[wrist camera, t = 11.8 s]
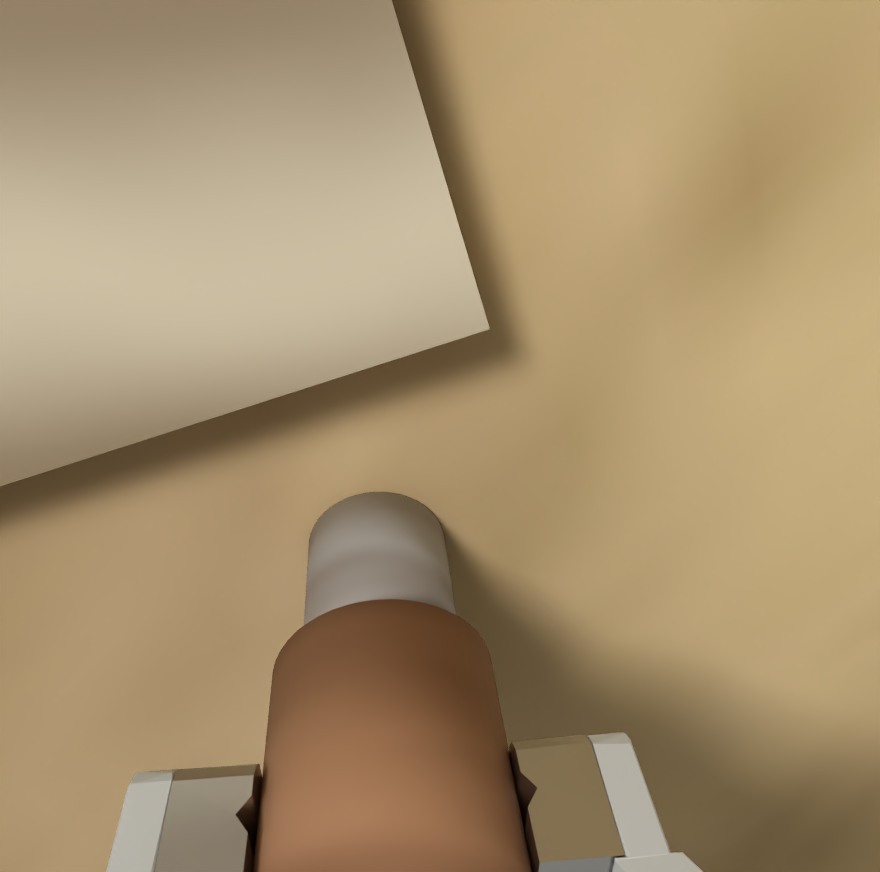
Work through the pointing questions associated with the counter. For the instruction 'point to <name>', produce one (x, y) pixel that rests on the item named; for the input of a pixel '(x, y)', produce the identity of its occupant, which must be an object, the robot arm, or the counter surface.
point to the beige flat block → (209, 214)
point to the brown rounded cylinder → (385, 712)
